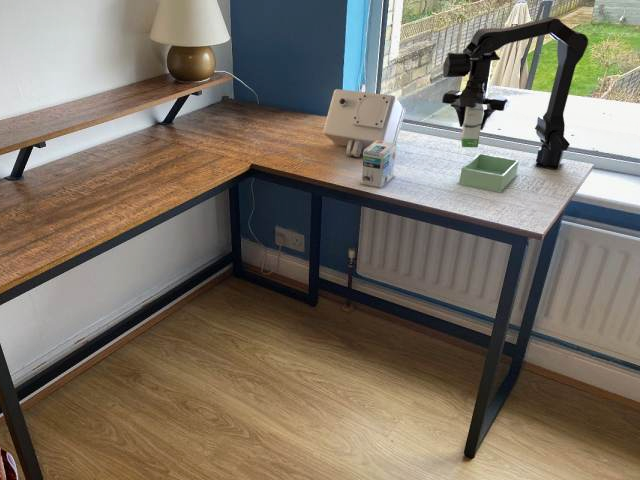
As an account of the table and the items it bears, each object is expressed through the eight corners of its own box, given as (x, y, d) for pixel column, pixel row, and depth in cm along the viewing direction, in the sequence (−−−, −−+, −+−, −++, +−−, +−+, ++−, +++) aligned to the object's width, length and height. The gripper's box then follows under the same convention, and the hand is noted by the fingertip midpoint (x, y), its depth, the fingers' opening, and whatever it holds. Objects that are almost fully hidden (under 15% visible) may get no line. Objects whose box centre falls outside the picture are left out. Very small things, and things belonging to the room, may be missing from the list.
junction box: (310, 144, 201) (328, 80, 200) (326, 156, 215) (343, 96, 213) (377, 155, 190) (396, 87, 189) (389, 167, 204) (407, 104, 202)
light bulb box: (381, 188, 179) (384, 153, 173) (360, 184, 182) (362, 150, 176) (394, 176, 186) (397, 142, 181) (373, 172, 190) (376, 139, 184)
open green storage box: (515, 175, 184) (519, 160, 181) (500, 192, 174) (503, 176, 171) (476, 168, 190) (479, 153, 187) (459, 183, 180) (461, 168, 177)
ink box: (478, 148, 182) (484, 109, 176) (461, 147, 184) (466, 108, 177) (477, 138, 189) (482, 101, 183) (460, 138, 191) (465, 100, 184)
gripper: (438, 78, 175) (431, 130, 184) (502, 85, 165) (492, 140, 174) (452, 70, 183) (446, 121, 191) (515, 77, 173) (505, 130, 181)
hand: (471, 128), depth 184 cm, fingers closed on ink box, 6 cm apart
